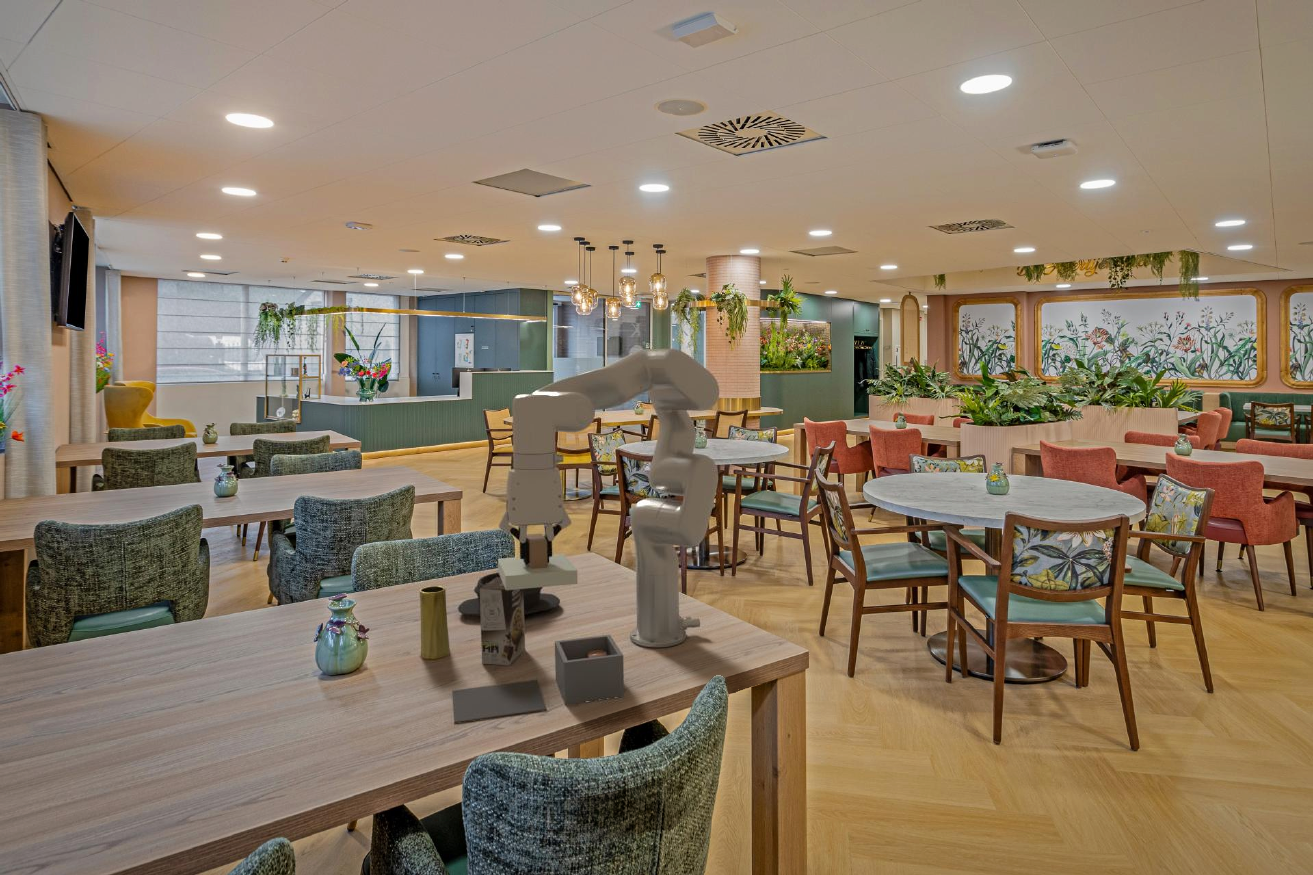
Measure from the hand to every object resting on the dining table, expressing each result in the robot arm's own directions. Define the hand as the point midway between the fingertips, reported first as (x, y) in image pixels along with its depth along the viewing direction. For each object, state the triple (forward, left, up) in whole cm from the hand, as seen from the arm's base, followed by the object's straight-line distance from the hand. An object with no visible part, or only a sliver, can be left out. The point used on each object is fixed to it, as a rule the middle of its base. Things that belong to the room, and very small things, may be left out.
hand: (536, 561), depth 139 cm
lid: (0, 0, -3) cm, 3 cm away
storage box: (-9, 0, -26) cm, 27 cm away
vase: (+19, -27, -26) cm, 42 cm away
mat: (+8, 0, -26) cm, 27 cm away
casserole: (+1, -50, -26) cm, 57 cm away
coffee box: (+5, -21, -26) cm, 34 cm away
